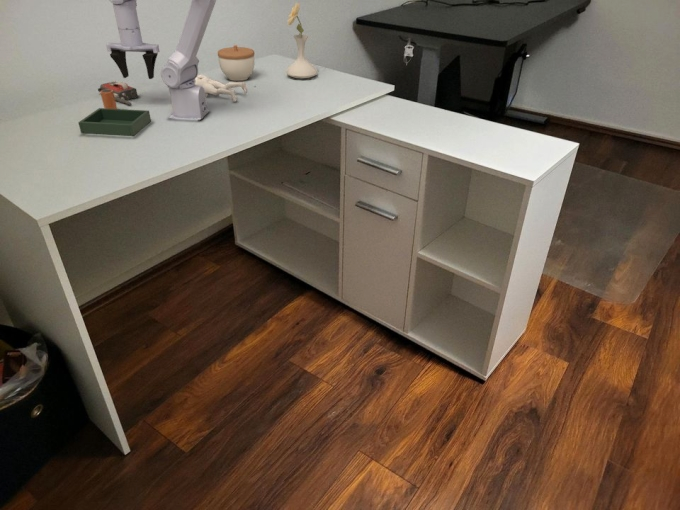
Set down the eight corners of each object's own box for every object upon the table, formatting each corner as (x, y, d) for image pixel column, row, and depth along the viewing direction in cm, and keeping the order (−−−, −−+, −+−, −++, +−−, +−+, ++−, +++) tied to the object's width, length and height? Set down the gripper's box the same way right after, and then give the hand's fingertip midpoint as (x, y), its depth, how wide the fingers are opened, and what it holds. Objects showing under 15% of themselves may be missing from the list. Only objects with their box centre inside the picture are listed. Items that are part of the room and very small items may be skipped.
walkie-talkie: (92, 95, 167) (128, 109, 157) (89, 81, 165) (125, 94, 154) (117, 89, 173) (153, 102, 163) (114, 75, 170) (150, 88, 160)
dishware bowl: (253, 83, 180) (250, 50, 174) (217, 82, 180) (213, 49, 174) (258, 73, 191) (256, 41, 184) (224, 72, 191) (220, 40, 184)
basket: (151, 122, 148) (149, 110, 146) (134, 138, 138) (131, 125, 136) (102, 120, 149) (99, 107, 147) (81, 135, 139) (78, 122, 137)
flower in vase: (289, 71, 194) (287, -3, 180) (319, 73, 193) (319, -1, 179) (281, 81, 184) (278, 3, 169) (313, 83, 182) (312, 5, 168)
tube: (120, 113, 154) (115, 89, 150) (115, 117, 151) (109, 93, 147) (109, 112, 154) (103, 88, 150) (104, 116, 151) (98, 92, 147)
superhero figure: (250, 97, 171) (187, 88, 179) (249, 78, 169) (185, 70, 176) (230, 103, 162) (165, 94, 170) (229, 83, 159) (163, 75, 167)
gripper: (96, 29, 141) (108, 80, 149) (148, 31, 141) (157, 82, 148) (108, 24, 147) (119, 73, 155) (158, 26, 146) (166, 75, 154)
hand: (138, 77), depth 152 cm, fingers open, 7 cm apart
